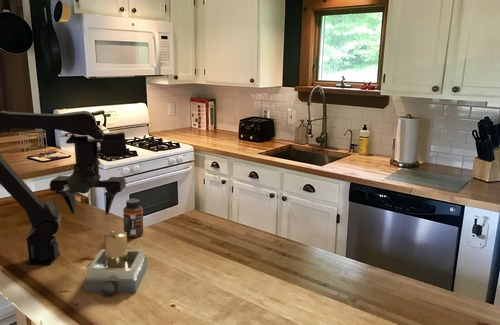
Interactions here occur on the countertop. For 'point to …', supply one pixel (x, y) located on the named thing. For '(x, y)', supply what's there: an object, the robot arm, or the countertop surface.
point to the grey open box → (115, 274)
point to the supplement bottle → (133, 218)
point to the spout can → (116, 249)
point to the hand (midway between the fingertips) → (90, 213)
